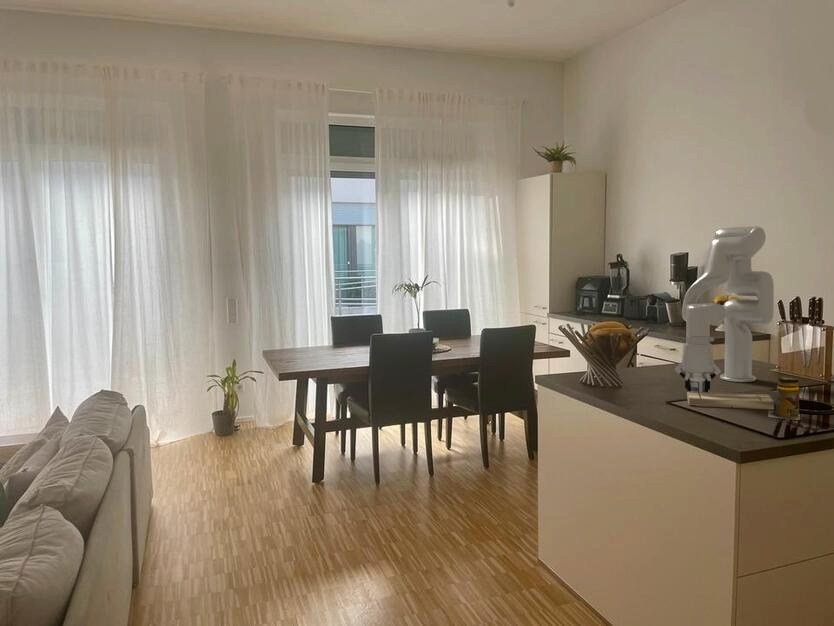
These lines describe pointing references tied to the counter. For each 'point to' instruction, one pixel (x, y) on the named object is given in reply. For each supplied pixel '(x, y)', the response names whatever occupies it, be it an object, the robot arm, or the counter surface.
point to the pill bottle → (697, 382)
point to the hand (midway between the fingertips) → (697, 390)
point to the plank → (730, 400)
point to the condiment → (787, 399)
